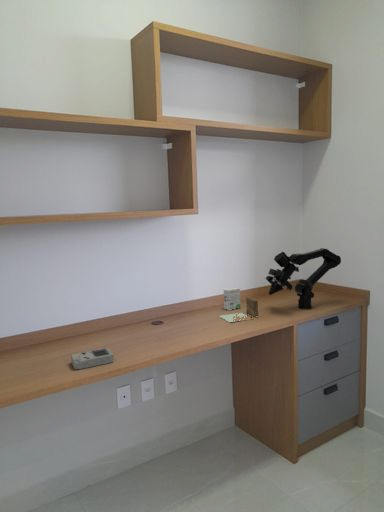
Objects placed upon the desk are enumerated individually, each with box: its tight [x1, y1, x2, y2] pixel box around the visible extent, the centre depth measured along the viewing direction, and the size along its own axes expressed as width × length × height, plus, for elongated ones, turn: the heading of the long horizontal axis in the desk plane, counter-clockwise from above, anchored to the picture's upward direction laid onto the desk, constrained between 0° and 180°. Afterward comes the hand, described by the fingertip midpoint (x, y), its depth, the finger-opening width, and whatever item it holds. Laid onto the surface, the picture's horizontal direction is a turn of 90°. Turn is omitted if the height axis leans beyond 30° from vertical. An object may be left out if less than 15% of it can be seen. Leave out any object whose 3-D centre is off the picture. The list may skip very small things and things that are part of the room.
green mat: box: [218, 312, 247, 323], centre depth 201 cm, size 14×14×1 cm
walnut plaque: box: [245, 297, 259, 318], centre depth 204 cm, size 2×8×9 cm, turn 20°
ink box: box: [223, 287, 241, 311], centre depth 220 cm, size 8×5×12 cm, turn 121°
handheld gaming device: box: [70, 347, 115, 370], centre depth 149 cm, size 9×15×4 cm, turn 116°
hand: (269, 294), depth 207 cm, fingers closed
